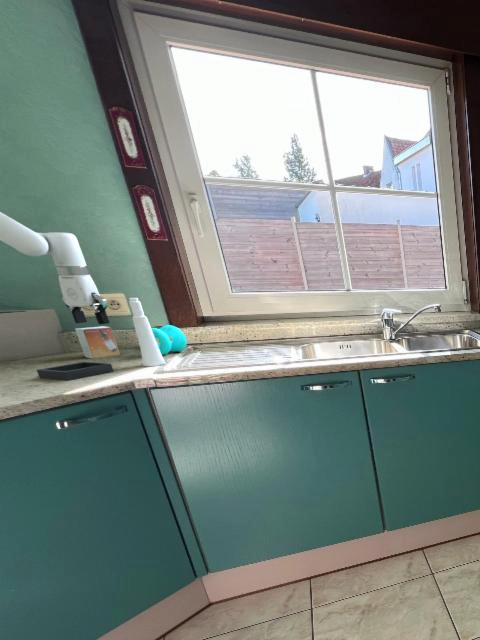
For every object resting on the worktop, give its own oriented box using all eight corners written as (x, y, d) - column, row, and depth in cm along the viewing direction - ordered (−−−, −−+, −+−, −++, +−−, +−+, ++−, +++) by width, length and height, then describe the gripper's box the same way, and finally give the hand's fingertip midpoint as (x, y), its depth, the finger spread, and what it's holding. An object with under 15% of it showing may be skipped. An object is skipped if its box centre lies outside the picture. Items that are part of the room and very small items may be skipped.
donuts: (143, 355, 182) (135, 328, 178) (167, 350, 191) (159, 324, 187) (170, 356, 181) (161, 328, 178) (191, 351, 191) (184, 325, 187)
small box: (92, 359, 173) (81, 329, 169) (84, 358, 175) (73, 328, 171) (121, 356, 180) (111, 326, 176) (113, 354, 182) (103, 325, 178)
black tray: (39, 378, 148) (36, 369, 147) (86, 369, 160) (83, 361, 159) (68, 380, 147) (65, 372, 146) (113, 371, 158) (111, 363, 157)
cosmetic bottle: (142, 364, 169) (120, 297, 160) (165, 362, 173) (145, 297, 164) (143, 367, 165) (121, 299, 156) (166, 364, 168) (146, 298, 160)
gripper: (39, 271, 165) (60, 323, 171) (81, 273, 162) (101, 325, 168) (65, 270, 171) (84, 320, 178) (106, 272, 169) (124, 322, 175)
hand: (92, 323), depth 173 cm, fingers open, 9 cm apart
